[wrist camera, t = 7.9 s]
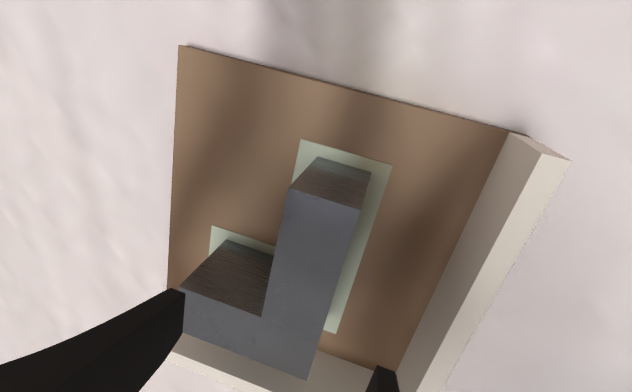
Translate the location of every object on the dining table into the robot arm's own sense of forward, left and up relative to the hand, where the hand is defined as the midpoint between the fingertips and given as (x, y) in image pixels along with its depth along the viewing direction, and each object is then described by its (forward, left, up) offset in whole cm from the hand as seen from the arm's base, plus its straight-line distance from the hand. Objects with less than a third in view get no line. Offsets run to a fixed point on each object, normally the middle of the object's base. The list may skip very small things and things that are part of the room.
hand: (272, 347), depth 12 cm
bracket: (0, -1, -8) cm, 9 cm away
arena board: (+1, +1, -9) cm, 9 cm away
